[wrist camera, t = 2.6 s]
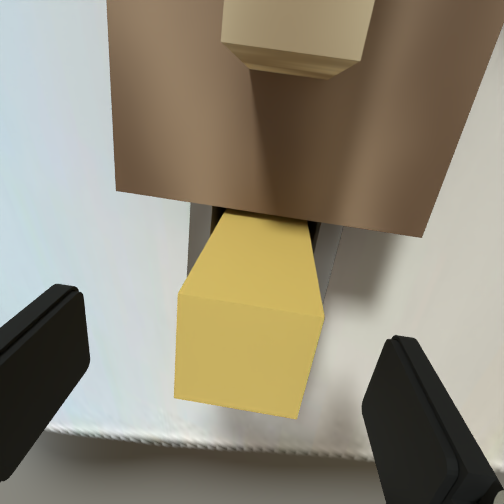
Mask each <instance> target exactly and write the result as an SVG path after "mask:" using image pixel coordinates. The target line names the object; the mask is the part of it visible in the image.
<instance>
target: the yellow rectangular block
mask: <svg viewBox="0 0 504 504" xmlns="http://www.w3.org/2000/svg"><path fill="white" fill-rule="evenodd" d="M324 318H325V317H324V311H323V306H322V300H321V295H320V289H319V284H318V278H317V273H316V267H315V262H314V256H313V251H312V245H311V240H310V234H309V229H308V223H307V220H302V219H296V218H289V217H283V216H276V215H270V214H263V213H257V212H250V211H244V210H237V209H231V208H226V210H225V212H224V213H223V215H222V217H221V219H220V220H219V222H218V224H217V226H216V227H215V229H214V231H213V233H212V235H211V236H210V238H209V240H208V242H207V243H206V245H205V247H204V249H203V250H202V252H201V254H200V256H199V257H198V259H197V261H196V263H195V264H194V266H193V268H192V270H191V271H190V273H189V275H188V277H187V279H186V280H185V282H184V284H183V286H182V287H181V289H180V291H179V293H178V304H177V330H176V357H175V383H174V398H176V399H182V400H188V401H194V402H199V403H205V404H211V405H217V406H223V407H228V408H234V409H240V410H246V411H251V412H257V413H263V414H269V415H274V416H280V417H286V418H292V419H297V417H298V413H299V409H300V406H301V402H302V398H303V395H304V391H305V387H306V384H307V380H308V376H309V373H310V369H311V366H312V362H313V358H314V355H315V351H316V347H317V344H318V340H319V336H320V333H321V329H322V325H323V322H324Z"/></svg>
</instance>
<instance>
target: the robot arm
mask: <svg viewBox="0 0 504 504" xmlns="http://www.w3.org/2000/svg"><path fill="white" fill-rule="evenodd" d="M89 363H90V353H89V343H88V334H87V325H86V315H85V306H84V297H83V294H82V293H81V292H79V290H78V288H77V287H75V286H69V285H62V284H55V285H53V286H51V287H50V288H49V289H48V290H46V291H45V292H44V293H43V294H41V295H40V296H39V297H38V298H37V299H35V300H34V301H33V302H32V303H30V304H29V305H28V306H27V307H25V308H24V309H23V310H22V311H20V312H19V313H18V314H17V315H15V316H14V317H13V318H12V319H10V320H9V321H8V322H7V323H5V324H4V325H3V326H2V327H1V328H0V482H1V481H5V480H7V479H8V478H9V477H10V476H11V475H12V473H13V472H14V471H15V470H16V468H17V467H18V465H19V464H20V463H21V461H22V460H23V458H24V457H25V456H26V454H27V453H28V451H29V450H30V449H31V447H32V446H33V445H34V443H35V442H36V440H37V439H38V438H39V436H40V435H41V433H42V432H43V431H44V429H45V428H46V426H47V425H48V424H49V422H50V421H51V419H52V418H53V417H54V415H55V414H56V413H57V411H58V410H59V408H60V407H61V406H62V404H63V403H64V401H65V400H66V399H67V397H68V396H69V394H70V393H71V392H72V390H73V389H74V387H75V386H76V385H77V383H78V382H79V381H80V379H81V378H82V376H83V375H84V374H85V372H86V371H87V369H88V367H89ZM362 415H363V418H364V422H365V426H366V430H367V433H368V437H369V441H370V444H371V448H372V452H373V456H374V459H375V463H376V466H377V470H378V474H379V478H380V482H381V485H382V489H383V493H384V496H385V500H386V504H504V489H503V487H502V485H501V484H500V482H499V480H498V478H497V476H496V475H495V473H494V471H493V469H492V468H491V466H490V464H489V463H488V461H487V459H486V457H485V456H484V454H483V452H482V451H481V449H480V447H479V446H478V444H477V442H476V440H475V439H474V437H473V435H472V434H471V432H470V430H469V428H468V427H467V425H466V423H465V422H464V420H463V418H462V416H461V415H460V413H459V411H458V410H457V408H456V406H455V404H454V403H453V401H452V399H451V398H450V396H449V394H448V392H447V391H446V389H445V387H444V386H443V384H442V382H441V380H440V379H439V377H438V375H437V374H436V372H435V370H434V368H433V367H432V365H431V363H430V362H429V360H428V358H427V356H426V355H425V353H424V351H423V350H422V348H421V346H420V344H419V343H418V341H417V340H416V339H415V338H411V337H404V336H398V335H395V336H393V337H392V339H387V340H386V342H385V344H384V346H383V349H382V352H381V354H380V357H379V359H378V362H377V365H376V367H375V370H374V372H373V375H372V378H371V380H370V383H369V385H368V388H367V391H366V393H365V396H364V398H363V401H362Z"/></svg>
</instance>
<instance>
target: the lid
mask: <svg viewBox="0 0 504 504" xmlns="http://www.w3.org/2000/svg"><path fill="white" fill-rule="evenodd" d="M107 20H108V41H109V61H110V81H111V101H112V121H113V141H114V161H115V181H116V191H121V192H127V193H134V194H140V195H146V196H153V197H159V198H166V199H172V200H179V201H185V202H191V206H190V226H189V246H188V266H187V277H188V275H189V273H190V271H191V270H192V268H193V266H194V264H195V263H196V261H197V259H198V257H199V256H200V254H201V252H202V250H203V249H204V247H205V245H206V243H207V242H208V240H209V238H210V236H211V235H212V233H213V231H214V229H215V220H216V208H217V206H218V207H224V208H231V209H237V210H244V211H250V212H257V213H263V214H270V215H276V216H283V217H289V218H296V219H302V220H309V221H315V222H317V225H316V230H315V234H314V238H313V243H312V251H313V256H314V262H315V267H316V273H317V278H318V284H319V289H320V295H321V300H322V305H323V302H324V298H325V294H326V290H327V286H328V283H329V279H330V275H331V271H332V268H333V264H334V260H335V256H336V253H337V249H338V245H339V241H340V237H341V234H342V230H343V226H348V227H354V228H361V229H367V230H374V231H380V232H387V233H393V234H400V235H406V236H413V237H419V238H422V236H423V233H424V231H425V228H426V225H427V223H428V220H429V218H430V215H431V212H432V210H433V207H434V204H435V202H436V199H437V197H438V194H439V191H440V189H441V186H442V183H443V181H444V178H445V176H446V173H447V170H448V168H449V165H450V162H451V160H452V157H453V155H454V152H455V149H456V147H457V144H458V141H459V139H460V136H461V134H462V131H463V128H464V126H465V123H466V120H467V118H468V115H469V112H470V110H471V107H472V105H473V102H474V99H475V97H476V94H477V91H478V89H479V86H480V84H481V81H482V78H483V76H484V73H485V70H486V68H487V65H488V63H489V60H490V57H491V55H492V52H493V49H494V47H495V44H496V42H497V39H498V36H499V34H500V31H501V28H502V26H503V23H504V0H107Z"/></svg>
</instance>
